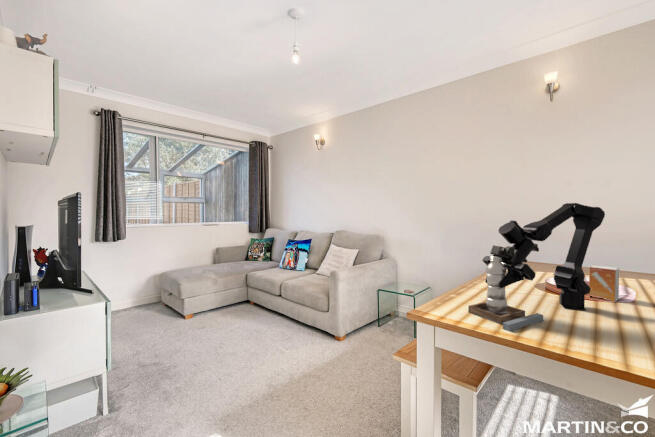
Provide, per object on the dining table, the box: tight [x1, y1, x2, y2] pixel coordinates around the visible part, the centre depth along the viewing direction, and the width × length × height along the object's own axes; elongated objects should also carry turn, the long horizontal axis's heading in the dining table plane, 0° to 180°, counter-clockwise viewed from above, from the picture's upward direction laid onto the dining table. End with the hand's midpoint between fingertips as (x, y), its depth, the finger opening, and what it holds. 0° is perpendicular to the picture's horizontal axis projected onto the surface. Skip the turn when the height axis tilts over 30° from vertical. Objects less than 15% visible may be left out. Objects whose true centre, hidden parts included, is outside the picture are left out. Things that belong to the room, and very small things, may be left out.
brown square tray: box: [467, 301, 526, 325], centre depth 103 cm, size 13×13×2 cm
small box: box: [588, 264, 620, 303], centre depth 119 cm, size 8×6×13 cm
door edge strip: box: [502, 312, 544, 332], centre depth 94 cm, size 18×2×2 cm, turn 114°
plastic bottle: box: [485, 254, 508, 312], centre depth 102 cm, size 6×7×20 cm
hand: (492, 284), depth 102 cm, fingers closed on plastic bottle, 6 cm apart
